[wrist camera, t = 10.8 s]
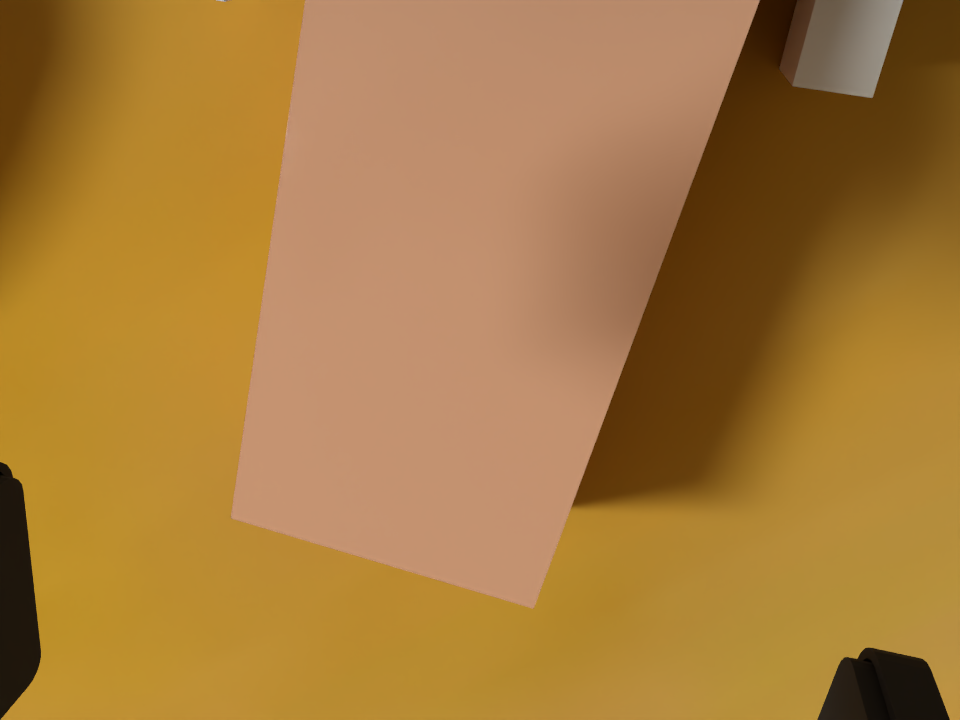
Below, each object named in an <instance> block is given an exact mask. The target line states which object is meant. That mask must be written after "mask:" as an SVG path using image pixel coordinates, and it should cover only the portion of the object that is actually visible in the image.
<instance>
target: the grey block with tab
mask: <svg viewBox="0 0 960 720" xmlns="http://www.w3.org/2000/svg"><path fill="white" fill-rule="evenodd" d="M218 1H224V2H226V1H230V0H218ZM902 3H903V0H797V3H796V7H795V10H794V14H793V18H792V22H791V26H790V29H789V33H788V37H787V41H786V45H785V48H784V52H783V56H782V60H781V63H780V67H779V70H780V71H781V72H782V74H783V75H784V76H785V77H786V79H787V80H788V81H789V83H790V84H791V85H792V86H795V87H802V88H808V89H815V90H822V91H828V92H835V93H842V94H848V95H855V96H862V97H869V98H873V94H874V91H875V88H876V85H877V82H878V79H879V75H880V72H881V69H882V66H883V63H884V60H885V56H886V53H887V50H888V47H889V44H890V41H891V37H892V34H893V31H894V28H895V25H896V22H897V18H898V15H899V12H900V9H901V6H902Z"/></svg>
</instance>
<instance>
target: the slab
mask: <svg viewBox="0 0 960 720" xmlns="http://www.w3.org/2000/svg"><path fill="white" fill-rule="evenodd" d="M759 1H760V0H305V6H304V13H303V20H302V27H301V34H300V41H299V48H298V55H297V62H296V69H295V76H294V83H293V90H292V96H291V103H290V110H289V117H288V124H287V131H286V138H285V145H284V152H283V159H282V166H281V173H280V180H279V187H278V194H277V201H276V208H275V215H274V222H273V229H272V236H271V243H270V250H269V256H268V263H267V270H266V277H265V284H264V291H263V298H262V305H261V312H260V319H259V326H258V333H257V340H256V347H255V354H254V361H253V368H252V375H251V382H250V389H249V396H248V403H247V409H246V416H245V423H244V430H243V437H242V444H241V451H240V458H239V465H238V472H237V479H236V486H235V493H234V500H233V507H232V514H231V518H232V519H235V520H238V521H242V522H245V523H248V524H252V525H255V526H259V527H262V528H265V529H269V530H272V531H275V532H279V533H282V534H285V535H289V536H292V537H295V538H299V539H302V540H305V541H309V542H312V543H315V544H319V545H322V546H325V547H329V548H332V549H336V550H339V551H342V552H346V553H349V554H352V555H356V556H359V557H362V558H366V559H369V560H372V561H376V562H379V563H382V564H386V565H389V566H392V567H396V568H399V569H402V570H406V571H409V572H413V573H416V574H419V575H423V576H426V577H429V578H433V579H436V580H439V581H443V582H446V583H449V584H453V585H456V586H459V587H463V588H466V589H469V590H473V591H476V592H479V593H483V594H486V595H490V596H493V597H496V598H500V599H503V600H506V601H510V602H513V603H516V604H520V605H523V606H526V607H530V608H533V609H534V606H535V603H536V601H537V598H538V595H539V593H540V590H541V587H542V584H543V582H544V579H545V576H546V574H547V571H548V568H549V566H550V563H551V560H552V558H553V555H554V552H555V550H556V547H557V544H558V541H559V539H560V536H561V533H562V531H563V528H564V525H565V523H566V520H567V517H568V515H569V512H570V509H571V507H572V504H573V501H574V498H575V496H576V493H577V490H578V488H579V485H580V482H581V480H582V477H583V474H584V472H585V469H586V466H587V464H588V461H589V458H590V455H591V453H592V450H593V447H594V445H595V442H596V439H597V437H598V434H599V431H600V429H601V426H602V423H603V421H604V418H605V415H606V412H607V410H608V407H609V404H610V402H611V399H612V396H613V394H614V391H615V388H616V386H617V383H618V380H619V378H620V375H621V372H622V369H623V367H624V364H625V361H626V359H627V356H628V353H629V351H630V348H631V345H632V343H633V340H634V337H635V335H636V332H637V329H638V326H639V324H640V321H641V318H642V316H643V313H644V310H645V308H646V305H647V302H648V300H649V297H650V294H651V292H652V289H653V286H654V283H655V281H656V278H657V275H658V273H659V270H660V267H661V265H662V262H663V259H664V257H665V254H666V251H667V249H668V246H669V243H670V240H671V238H672V235H673V232H674V230H675V227H676V224H677V222H678V219H679V216H680V214H681V211H682V208H683V206H684V203H685V200H686V197H687V195H688V192H689V189H690V187H691V184H692V181H693V179H694V176H695V173H696V171H697V168H698V165H699V163H700V160H701V157H702V154H703V152H704V149H705V146H706V144H707V141H708V138H709V136H710V133H711V130H712V128H713V125H714V122H715V120H716V117H717V114H718V111H719V109H720V106H721V103H722V101H723V98H724V95H725V93H726V90H727V87H728V85H729V82H730V79H731V77H732V74H733V71H734V68H735V66H736V63H737V60H738V58H739V55H740V52H741V50H742V47H743V44H744V42H745V39H746V36H747V34H748V31H749V28H750V25H751V23H752V20H753V17H754V15H755V12H756V9H757V7H758V4H759Z"/></svg>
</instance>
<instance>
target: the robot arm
mask: <svg viewBox="0 0 960 720" xmlns="http://www.w3.org/2000/svg"><path fill="white" fill-rule="evenodd" d="M40 658H41V648H40V639H39V630H38V621H37V612H36V602H35V593H34V584H33V575H32V566H31V557H30V548H29V539H28V529H27V520H26V511H25V502H24V493H23V488H22V484H21V483H20V481H19V480H17V479H15V478H13V476H12V472H11V470H10V468H9V467H8V466H7V465H6V464H4V463H1V462H0V719H1V718H2V717H3V716H4V715H5V713H6V712H7V711H8V710H9V709H10V707H11V706H12V705H13V704H14V703H15V701H16V700H17V699H18V698H19V697H20V696H21V694H22V693H23V692H24V691H25V690H26V688H27V687H28V686H29V685H30V683H31V682H32V680H33V678H34V676H35V674H36V672H37V670H38V667H39V663H40ZM818 720H950V719H949V717H948V714H947V711H946V709H945V706H944V703H943V701H942V698H941V695H940V693H939V690H938V687H937V685H936V682H935V679H934V677H933V674H932V671H931V669H930V667H929V666H928V664H927V662H926V661H924V660H923V659H921V658H916V657H911V656H907V655H902V654H897V653H893V652H888V651H883V650H878V649H874V648H865V649H864V650H863V651H862V652H861V653H860V655H859V657H858V659H853V658H849V657H845V658H844V659H843V660H842V661H841V662H840V664H839V666H838V669H837V671H836V674H835V676H834V679H833V681H832V684H831V687H830V689H829V692H828V694H827V697H826V699H825V702H824V704H823V707H822V710H821V712H820V715H819V717H818Z"/></svg>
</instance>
